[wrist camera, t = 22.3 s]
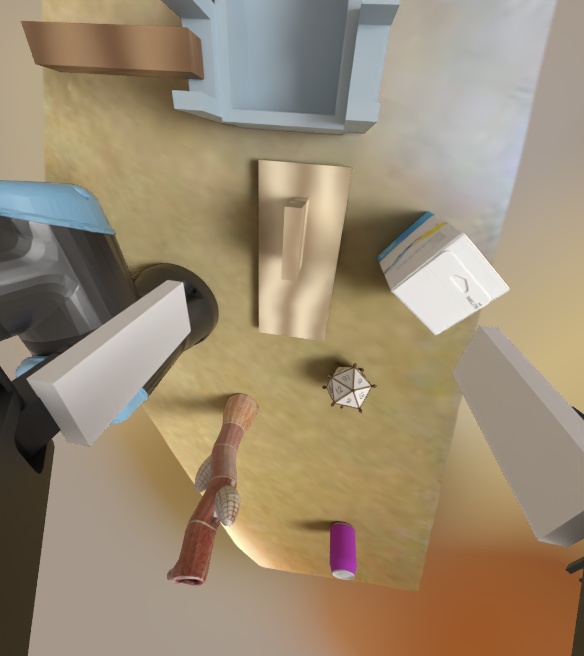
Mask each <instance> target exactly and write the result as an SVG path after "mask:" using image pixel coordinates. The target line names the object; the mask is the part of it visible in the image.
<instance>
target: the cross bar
mask: <svg viewBox="0 0 584 656" xmlns="http://www.w3.org/2000/svg"><path fill="white" fill-rule="evenodd" d="M21 23H22V26H23V29H24V31H25V34H26V38H27V41H28V44H29V46H30V49H31V52H32V55H33V58H34V61H35V64H37V65H40V66H43V67H47V68H50V69H53V70H56V71H59V72H70V73H89V74H107V75H126V76H144V77H163V78H181V79H200V80H205V79H204V68H203V56H202V45H201V39H200V38H199V37H198V36H196V35H195V34H194V33H193V32H192V31H191V30H190V29H188V28H187V27H170V26H143V25H115V24H88V23H61V22H32V21H21Z"/></svg>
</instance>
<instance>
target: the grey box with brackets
mask: <svg viewBox="0 0 584 656" xmlns="http://www.w3.org/2000/svg"><path fill="white" fill-rule="evenodd" d="M161 1H163V2H164V3H165V4H166V5H167V6H168V7H169V8H170V9H172V10H173V11H174V12H175V13H176V14H177V15H178V16H179V17H180V18H181V19H182V27H187V28H188V29H190V30H191V31H192V32H193V33H194V34H195V35H196V36H198V37H199V38H200V39H201V45H202V56H203V68H204V79H205V80H200V79H188V82H189V91H179V90H172V96H173V103H174V109H177V110H180V111H183V112H186V113H190V114H193V115H196V116H200V117H203V118H206V119H209V120H213V121H216V122H219V123H223V124H232V125H235V126H238V127H241V128H248V129H263V130H277V131H292V132H306V133H320V134H335V135H343V132H352V133H366V132H367V131H368V130H369V129H370V128H371V127H372V126H373V125H374V124H375V123H376V122H377V119H378V114H379V109H380V104H381V102H377V99H378V93H379V88H380V83H381V77H382V72H383V66H384V61H385V55H386V50H387V45H388V39H389V34H390V28H391V24H392V22H393V19H394V17H395V14H396V12H397V9H398V7H399V4H400V0H214V1H215V4H214V3H213V2H212V0H161Z"/></svg>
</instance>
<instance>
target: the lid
mask: <svg viewBox="0 0 584 656" xmlns="http://www.w3.org/2000/svg"><path fill="white" fill-rule="evenodd" d="M352 169H353V168H352V167H341V166H329V165H317V164H305V163H293V162H281V161H269V160H259V332H262V333H269V334H276V335H284V336H291V337H298V338H305V339H312V340H319V341H324V338H325V332H326V326H327V320H328V314H329V308H330V302H331V296H332V290H333V284H334V278H335V272H336V266H337V260H338V254H339V248H340V242H341V236H342V229H343V223H344V217H345V211H346V205H347V199H348V193H349V187H350V181H351V175H352Z"/></svg>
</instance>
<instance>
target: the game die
mask: <svg viewBox="0 0 584 656" xmlns="http://www.w3.org/2000/svg"><path fill="white" fill-rule="evenodd" d="M356 365H357V364H356V363H355V364H354V365H353V366H354V367H339V365H338V364H337V363H336V367H337V368H336V370H335V372H334V373H333V375H332V376H331V375H328V378H330V380H329V382H328V384H327V386H323V387H322V388H323V389H325V388H327V390H328V392H329V394H330V396H331V398H332V400H333V403H332V404H331V407H332V406H334V405H335V404H338V405H341V407H340V408H341V409H342V408H343V406H347V407H352V408H357V409H359V412H360V413H362V409H360V408H361V406H362V404H363V402H364V400H365V398H366V397H367V395H368V393H369V391H370V389H371V388H372V387H373V388H374V387H377V386H376V385H375V384H374V385H371V384H370V382H369V381H368V380H367V378H366V377H365V376H364V375H363V373H362V372H363V371H364V369H361V370H358V369H357V368H356Z"/></svg>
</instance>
